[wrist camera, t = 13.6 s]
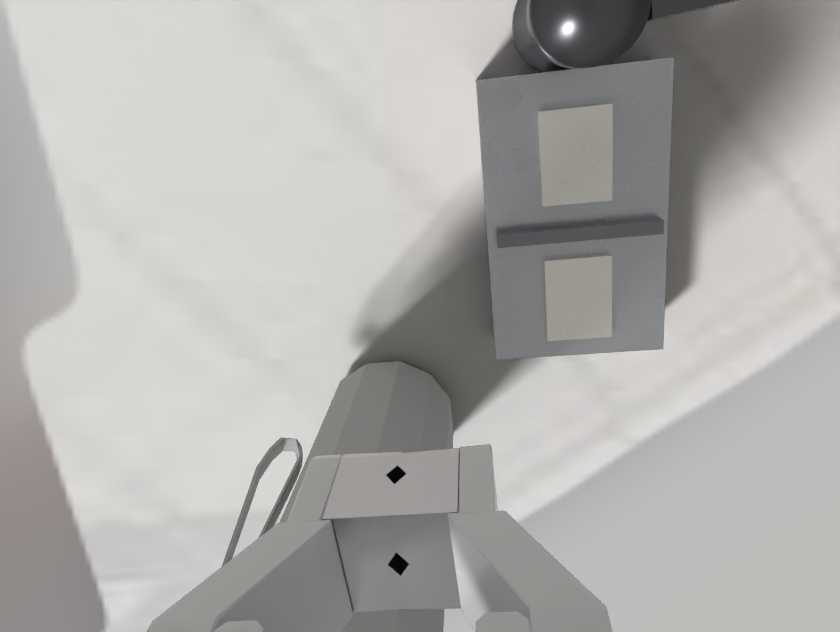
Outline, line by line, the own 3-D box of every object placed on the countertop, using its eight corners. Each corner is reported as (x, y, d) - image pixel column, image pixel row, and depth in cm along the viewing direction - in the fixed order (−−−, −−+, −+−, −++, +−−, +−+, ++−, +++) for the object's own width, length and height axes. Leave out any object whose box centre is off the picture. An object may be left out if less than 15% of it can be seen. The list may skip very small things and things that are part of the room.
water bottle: (467, 360, 33) (457, 997, 10) (444, 476, 36) (398, 1175, 13) (303, 332, 34) (-67, 899, 10) (294, 450, 37) (-12, 1096, 13)
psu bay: (475, 80, 28) (476, 80, 25) (653, 59, 27) (680, 56, 24) (494, 335, 33) (496, 366, 29) (646, 325, 32) (668, 356, 28)
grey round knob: (509, -28, 26) (516, -47, 22) (612, -42, 26) (640, -64, 22) (515, 80, 28) (522, 80, 24) (612, 68, 28) (637, 67, 23)
